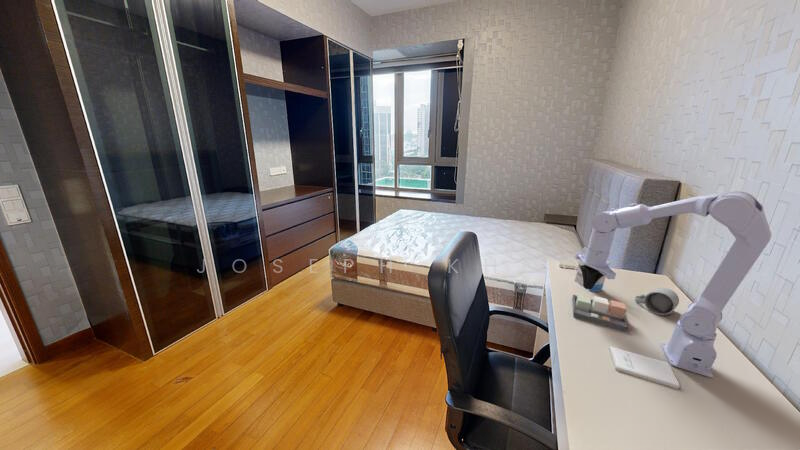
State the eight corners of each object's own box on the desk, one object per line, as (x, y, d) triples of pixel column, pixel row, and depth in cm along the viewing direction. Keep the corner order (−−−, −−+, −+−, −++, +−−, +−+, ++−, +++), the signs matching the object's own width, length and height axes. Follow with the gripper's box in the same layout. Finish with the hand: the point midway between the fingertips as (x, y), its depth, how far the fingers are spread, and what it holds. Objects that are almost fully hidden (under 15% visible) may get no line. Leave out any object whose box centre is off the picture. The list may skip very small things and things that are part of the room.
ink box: (602, 290, 108) (613, 254, 104) (591, 291, 107) (602, 255, 103) (584, 279, 116) (593, 245, 111) (573, 280, 115) (582, 246, 110)
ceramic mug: (676, 311, 98) (684, 291, 95) (670, 319, 93) (677, 298, 90) (638, 296, 106) (644, 278, 103) (630, 304, 101) (636, 284, 99)
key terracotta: (623, 318, 89) (626, 309, 88) (609, 314, 91) (612, 305, 90) (621, 312, 92) (624, 303, 91) (608, 308, 94) (610, 300, 93)
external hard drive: (677, 391, 68) (614, 371, 72) (665, 366, 75) (608, 350, 79) (680, 385, 67) (616, 366, 72) (667, 361, 74) (609, 345, 79)
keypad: (627, 331, 86) (628, 326, 86) (573, 316, 92) (574, 311, 92) (620, 311, 96) (622, 306, 96) (572, 298, 102) (573, 293, 102)
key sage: (588, 312, 94) (591, 303, 93) (575, 308, 95) (578, 300, 94) (587, 306, 97) (590, 298, 96) (575, 303, 98) (577, 295, 97)
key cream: (606, 313, 91) (608, 304, 90) (592, 309, 93) (595, 301, 92) (604, 307, 94) (607, 299, 93) (591, 304, 96) (594, 295, 95)
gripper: (630, 259, 83) (617, 300, 87) (593, 240, 97) (583, 276, 101) (607, 259, 82) (595, 301, 86) (573, 240, 96) (564, 277, 100)
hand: (587, 288), depth 94 cm, fingers closed
